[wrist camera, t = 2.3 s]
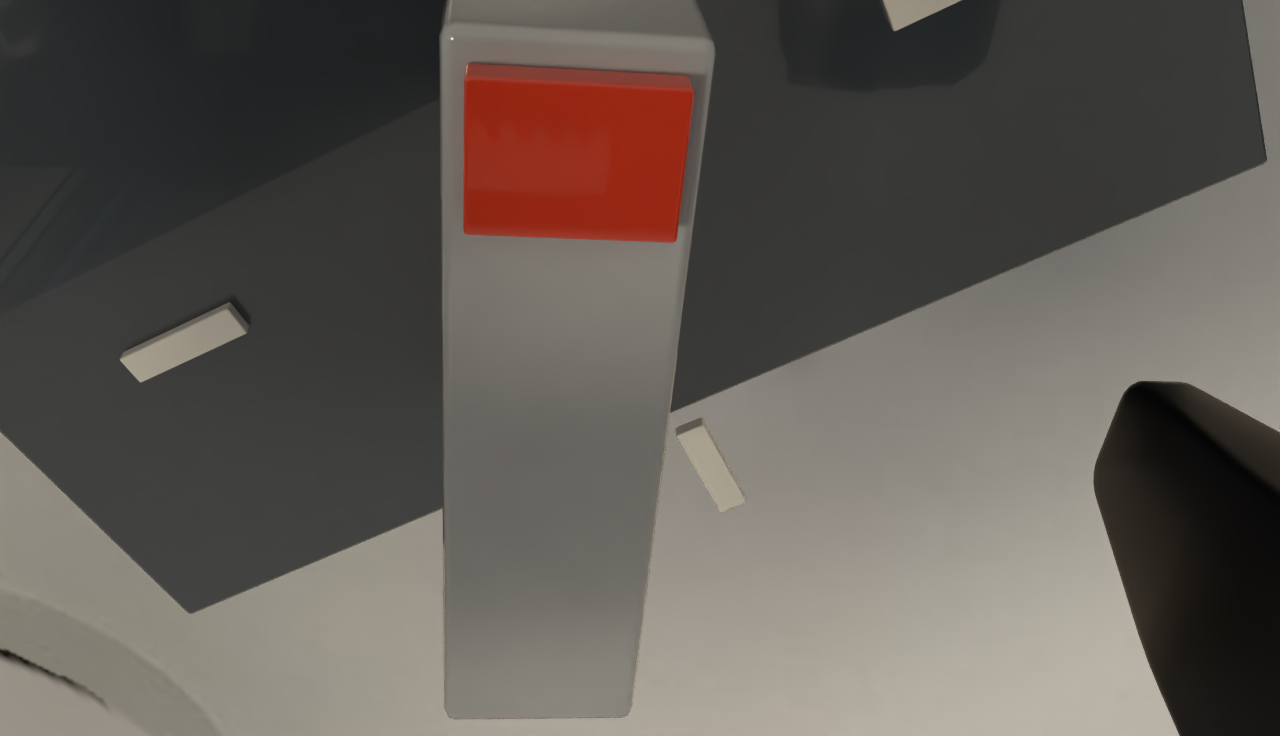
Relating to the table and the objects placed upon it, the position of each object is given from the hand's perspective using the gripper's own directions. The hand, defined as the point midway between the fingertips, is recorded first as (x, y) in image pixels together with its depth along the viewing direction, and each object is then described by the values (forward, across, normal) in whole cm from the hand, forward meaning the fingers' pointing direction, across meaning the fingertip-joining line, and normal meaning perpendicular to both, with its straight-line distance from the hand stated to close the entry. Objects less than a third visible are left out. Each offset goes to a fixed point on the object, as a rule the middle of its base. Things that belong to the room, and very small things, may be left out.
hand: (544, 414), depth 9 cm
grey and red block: (+4, 0, 0) cm, 4 cm away
